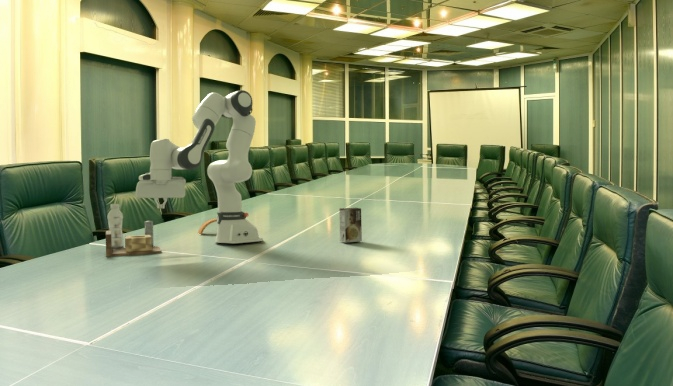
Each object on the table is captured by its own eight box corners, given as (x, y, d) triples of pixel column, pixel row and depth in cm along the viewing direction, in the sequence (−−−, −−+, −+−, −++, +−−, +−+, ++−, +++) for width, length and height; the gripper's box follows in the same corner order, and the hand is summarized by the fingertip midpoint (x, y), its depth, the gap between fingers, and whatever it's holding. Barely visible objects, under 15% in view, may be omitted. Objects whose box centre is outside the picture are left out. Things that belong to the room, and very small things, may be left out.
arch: (197, 238, 258) (196, 219, 257) (234, 236, 267) (234, 217, 266) (199, 239, 252) (198, 220, 252) (237, 237, 262) (237, 218, 261)
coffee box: (355, 240, 243) (355, 207, 243) (362, 241, 237) (361, 208, 237) (339, 241, 239) (339, 208, 239) (345, 242, 233) (344, 208, 233)
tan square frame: (150, 247, 216) (149, 234, 215) (151, 250, 207) (151, 237, 206) (125, 248, 212) (124, 236, 211) (125, 251, 202) (125, 238, 202)
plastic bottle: (118, 249, 218) (117, 204, 217) (104, 249, 219) (103, 204, 219) (127, 247, 224) (126, 203, 224) (113, 247, 226) (112, 203, 225)
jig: (158, 248, 220) (158, 228, 220) (161, 253, 205) (161, 231, 205) (106, 251, 211) (106, 230, 211) (106, 256, 197) (105, 234, 196)
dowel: (153, 246, 225) (152, 220, 225) (153, 247, 222) (153, 221, 222) (144, 247, 224) (144, 221, 224) (145, 248, 221) (144, 221, 220)
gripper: (184, 176, 219) (184, 207, 219) (135, 176, 211) (135, 208, 211) (186, 176, 213) (186, 208, 214) (135, 176, 205) (136, 209, 205)
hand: (160, 208), depth 212 cm, fingers closed
